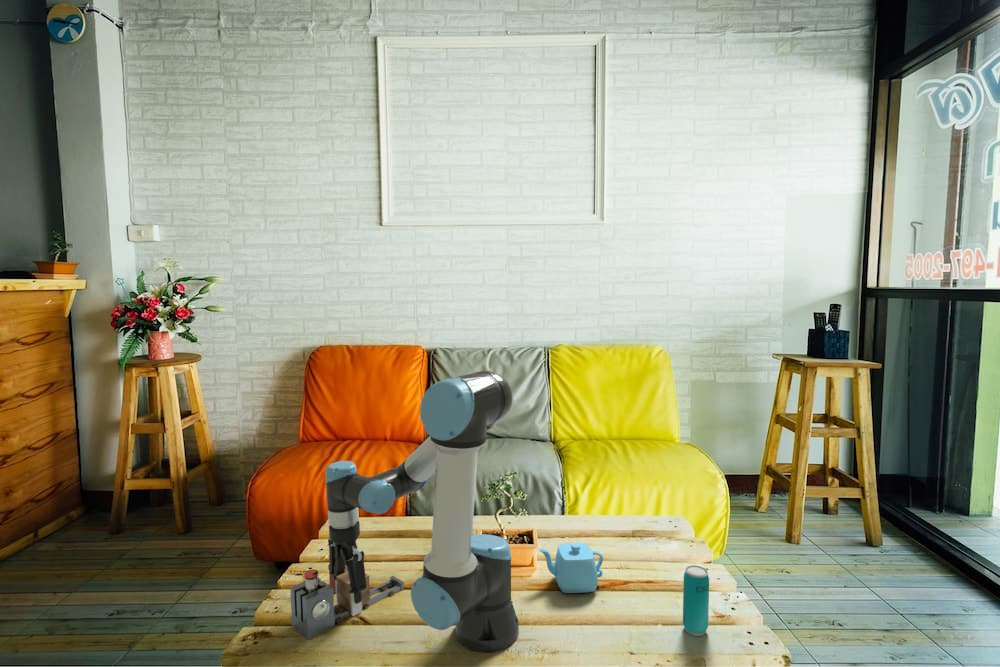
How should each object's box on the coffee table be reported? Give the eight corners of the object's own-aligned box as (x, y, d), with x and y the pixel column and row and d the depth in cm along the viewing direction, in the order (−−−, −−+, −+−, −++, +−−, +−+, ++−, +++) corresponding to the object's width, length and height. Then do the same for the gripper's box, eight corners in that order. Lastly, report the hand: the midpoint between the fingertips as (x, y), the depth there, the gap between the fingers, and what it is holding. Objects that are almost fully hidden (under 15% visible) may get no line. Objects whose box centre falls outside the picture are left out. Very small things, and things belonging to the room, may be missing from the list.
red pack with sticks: (337, 594, 154) (336, 559, 153) (326, 593, 154) (324, 558, 153) (351, 579, 162) (350, 545, 161) (340, 578, 162) (339, 544, 161)
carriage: (370, 601, 148) (369, 575, 147) (349, 611, 143) (348, 584, 143) (357, 592, 152) (356, 567, 151) (337, 602, 147) (336, 576, 147)
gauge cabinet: (335, 627, 139) (334, 588, 138) (308, 640, 134) (307, 600, 133) (318, 614, 145) (316, 576, 144) (292, 626, 140) (290, 587, 139)
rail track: (404, 589, 156) (404, 582, 156) (306, 638, 135) (305, 630, 135) (392, 581, 160) (391, 575, 160) (294, 627, 139) (293, 620, 139)
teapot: (535, 574, 163) (535, 536, 162) (597, 572, 164) (597, 534, 163) (541, 598, 151) (541, 557, 150) (608, 596, 152) (608, 555, 151)
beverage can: (713, 635, 134) (714, 574, 133) (692, 639, 133) (693, 578, 131) (698, 621, 140) (699, 563, 139) (677, 625, 138) (678, 566, 137)
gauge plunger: (321, 599, 139) (320, 572, 138) (309, 604, 137) (308, 577, 136) (315, 594, 141) (313, 568, 141) (302, 599, 139) (301, 573, 138)
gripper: (378, 528, 140) (383, 616, 143) (337, 507, 154) (342, 587, 156) (351, 539, 135) (356, 630, 138) (311, 516, 148) (317, 599, 151)
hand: (349, 607), depth 147 cm, fingers open, 6 cm apart
